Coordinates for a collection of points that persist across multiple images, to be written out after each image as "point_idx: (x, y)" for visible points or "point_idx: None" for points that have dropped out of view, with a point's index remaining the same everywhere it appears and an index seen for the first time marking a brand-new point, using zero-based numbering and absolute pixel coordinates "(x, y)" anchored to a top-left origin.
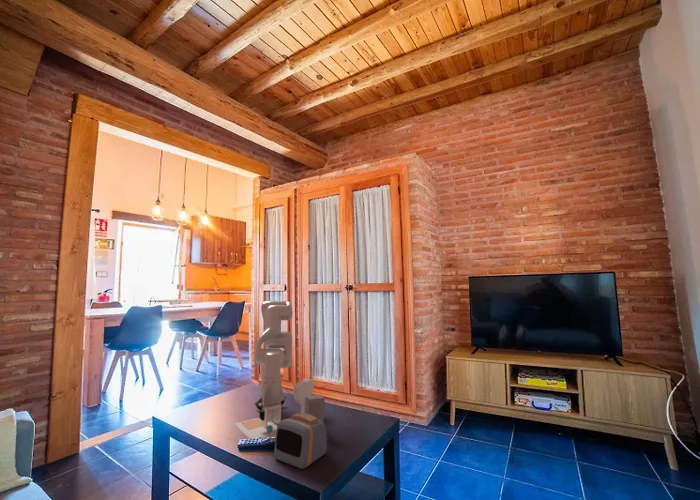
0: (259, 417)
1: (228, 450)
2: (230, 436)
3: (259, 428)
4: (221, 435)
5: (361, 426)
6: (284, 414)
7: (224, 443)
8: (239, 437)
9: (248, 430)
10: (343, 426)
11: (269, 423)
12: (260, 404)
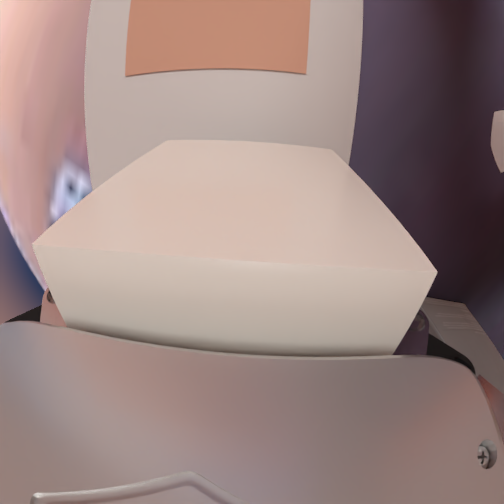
0: (142, 157)
1: (23, 249)
2: (32, 106)
3: (207, 95)
4: (10, 74)
5: (500, 353)
6: (486, 25)
7: (8, 176)
8: (62, 143)
9: (122, 86)
10: (492, 334)
11: (329, 59)
12: (40, 260)
